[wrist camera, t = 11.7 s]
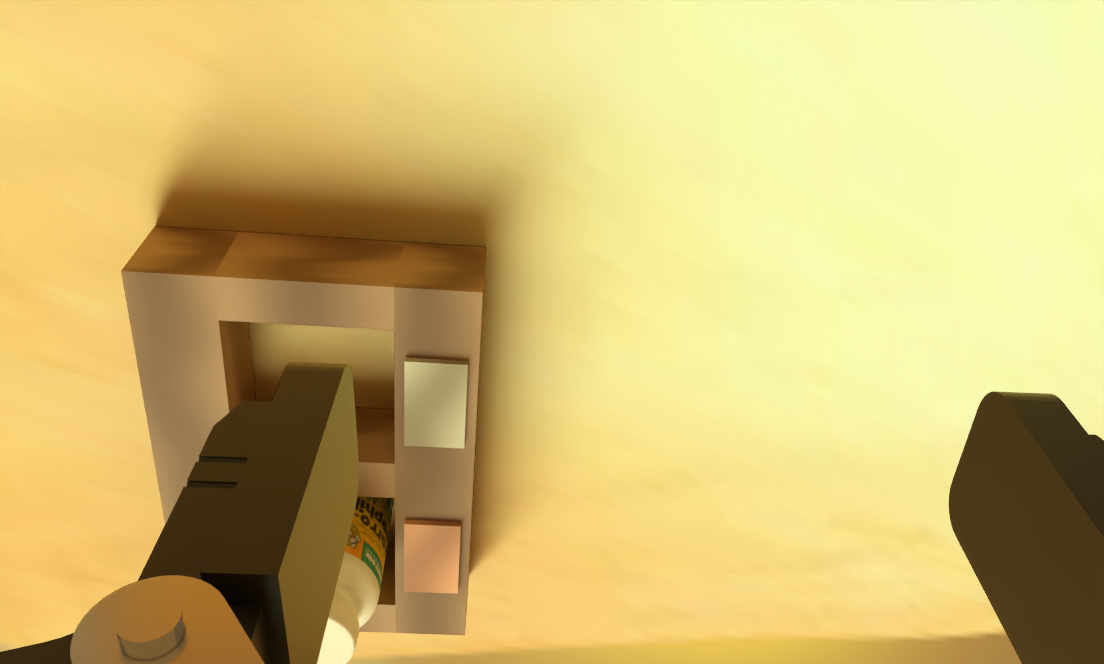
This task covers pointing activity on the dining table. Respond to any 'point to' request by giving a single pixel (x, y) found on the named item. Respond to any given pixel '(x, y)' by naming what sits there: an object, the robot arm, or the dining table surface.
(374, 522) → the supplement bottle
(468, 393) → the socket block
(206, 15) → the dining table surface
